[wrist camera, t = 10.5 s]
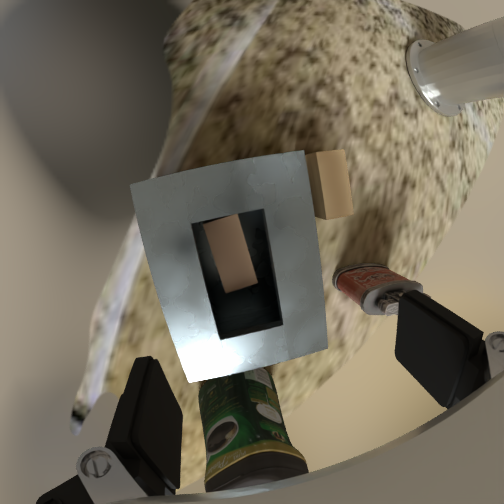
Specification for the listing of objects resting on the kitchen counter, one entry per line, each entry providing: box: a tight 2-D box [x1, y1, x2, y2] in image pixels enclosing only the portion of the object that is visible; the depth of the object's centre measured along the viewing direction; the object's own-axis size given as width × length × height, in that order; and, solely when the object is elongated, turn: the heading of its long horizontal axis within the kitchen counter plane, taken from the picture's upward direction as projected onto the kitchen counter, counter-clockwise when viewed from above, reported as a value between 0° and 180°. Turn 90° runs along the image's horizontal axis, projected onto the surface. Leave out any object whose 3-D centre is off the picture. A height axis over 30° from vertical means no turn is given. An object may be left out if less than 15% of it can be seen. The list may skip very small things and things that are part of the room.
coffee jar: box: [198, 367, 309, 493], centre depth 25 cm, size 10×8×19 cm
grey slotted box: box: [130, 150, 328, 382], centre depth 25 cm, size 12×16×10 cm
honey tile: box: [305, 149, 354, 220], centre depth 26 cm, size 3×6×6 cm, turn 10°
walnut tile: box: [203, 214, 258, 293], centre depth 25 cm, size 3×6×6 cm, turn 16°
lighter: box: [332, 263, 431, 316], centre depth 28 cm, size 8×3×10 cm, turn 91°
